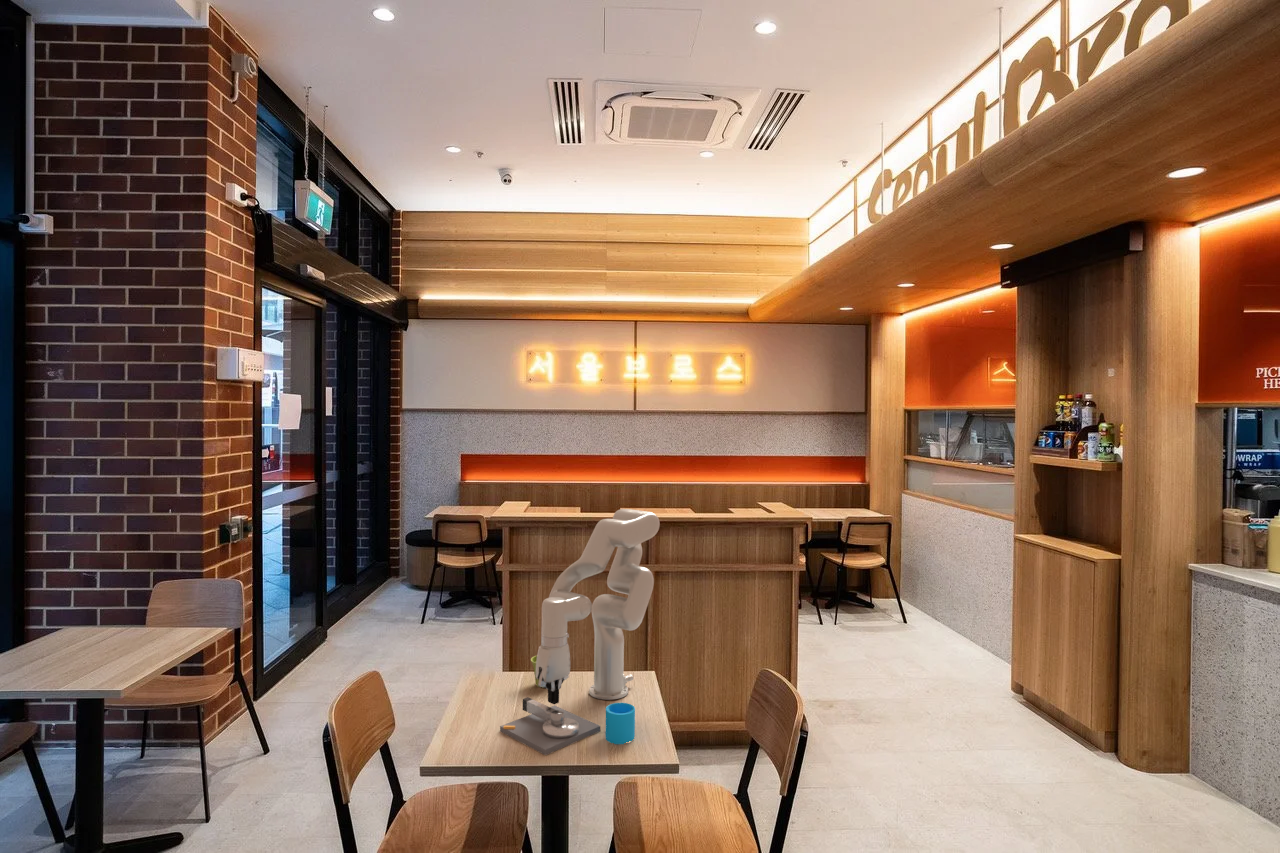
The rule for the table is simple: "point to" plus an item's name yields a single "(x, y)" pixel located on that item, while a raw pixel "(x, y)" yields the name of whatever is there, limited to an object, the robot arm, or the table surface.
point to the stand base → (532, 734)
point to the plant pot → (535, 669)
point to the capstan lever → (552, 720)
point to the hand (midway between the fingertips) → (553, 702)
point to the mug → (620, 723)
